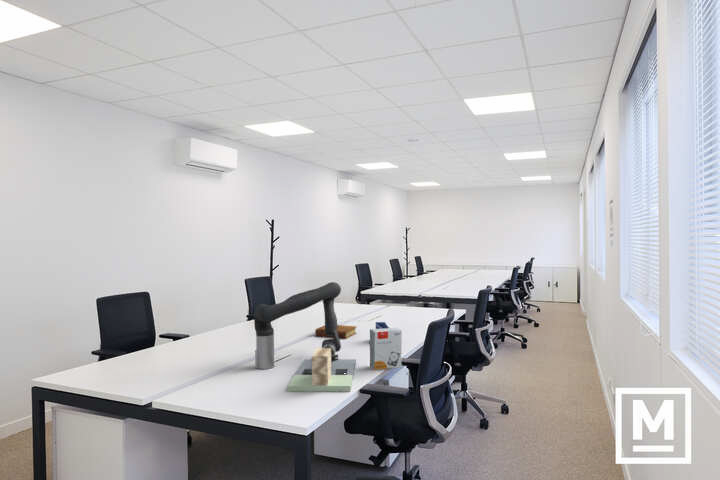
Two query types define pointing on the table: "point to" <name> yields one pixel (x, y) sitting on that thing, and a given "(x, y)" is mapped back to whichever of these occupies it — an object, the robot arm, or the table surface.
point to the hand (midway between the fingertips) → (323, 362)
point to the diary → (342, 331)
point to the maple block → (321, 366)
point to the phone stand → (381, 325)
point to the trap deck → (337, 379)
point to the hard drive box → (385, 348)
